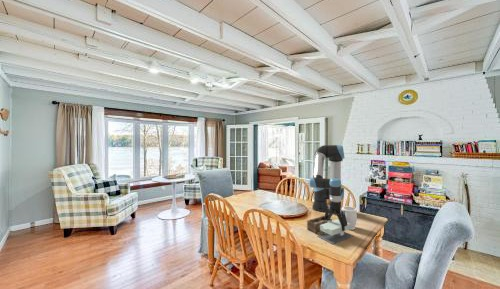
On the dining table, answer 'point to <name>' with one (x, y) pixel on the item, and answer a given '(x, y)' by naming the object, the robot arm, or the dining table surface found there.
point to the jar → (350, 216)
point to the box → (316, 224)
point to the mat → (335, 237)
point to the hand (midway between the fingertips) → (335, 232)
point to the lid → (333, 227)
